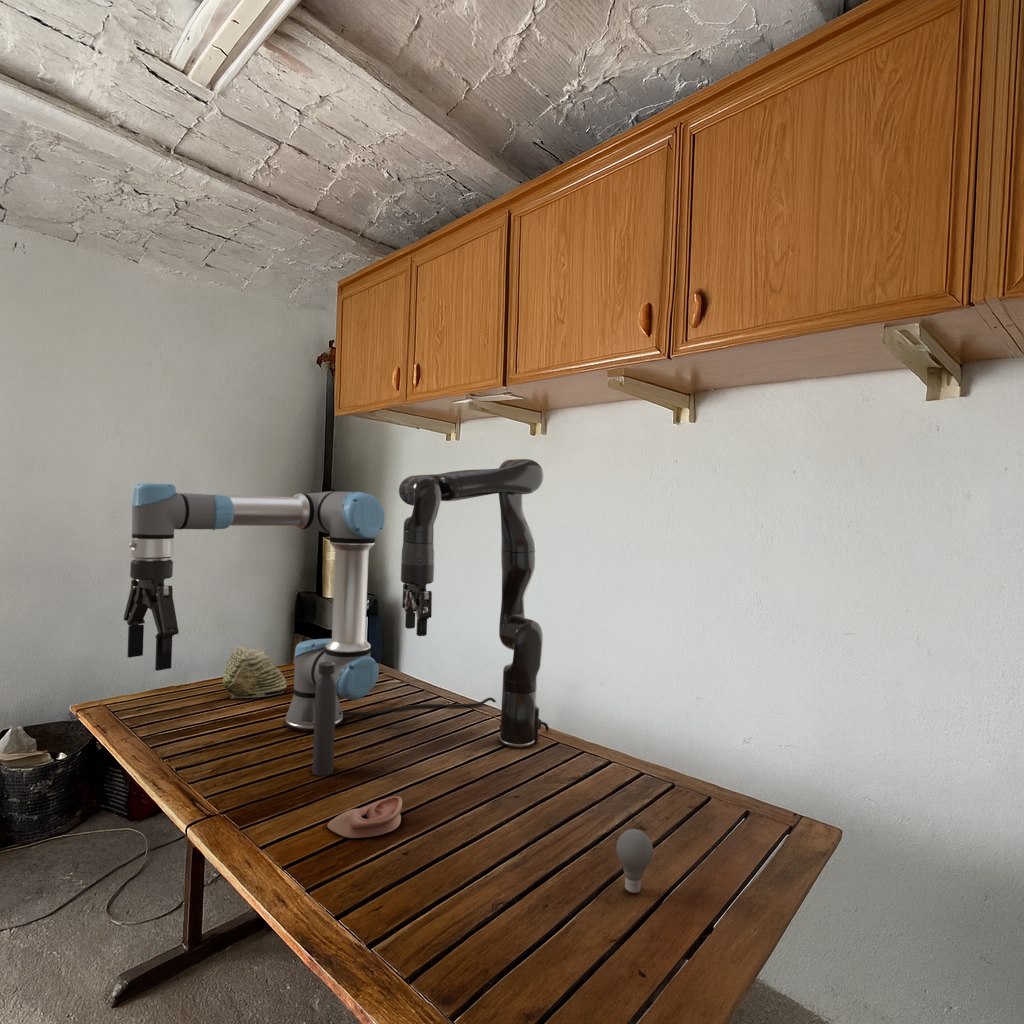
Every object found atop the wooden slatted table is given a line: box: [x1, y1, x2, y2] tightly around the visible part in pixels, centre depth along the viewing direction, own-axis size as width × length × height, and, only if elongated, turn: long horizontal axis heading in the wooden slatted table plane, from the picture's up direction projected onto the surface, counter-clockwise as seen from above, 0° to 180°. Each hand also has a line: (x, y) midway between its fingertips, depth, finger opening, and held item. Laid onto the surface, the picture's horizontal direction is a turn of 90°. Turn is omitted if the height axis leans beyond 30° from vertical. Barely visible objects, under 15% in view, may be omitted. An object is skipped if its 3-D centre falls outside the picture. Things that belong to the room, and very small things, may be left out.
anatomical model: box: [327, 795, 403, 839], centre depth 123 cm, size 13×4×12 cm
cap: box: [318, 662, 335, 675], centre depth 145 cm, size 4×4×2 cm
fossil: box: [222, 646, 288, 699], centre depth 198 cm, size 9×18×15 cm, turn 132°
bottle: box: [312, 674, 337, 777], centre depth 146 cm, size 5×5×25 cm
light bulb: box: [615, 828, 654, 894], centre depth 106 cm, size 6×6×10 cm
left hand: (148, 662), depth 129 cm, fingers open, 13 cm apart
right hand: (415, 631), depth 146 cm, fingers open, 8 cm apart
